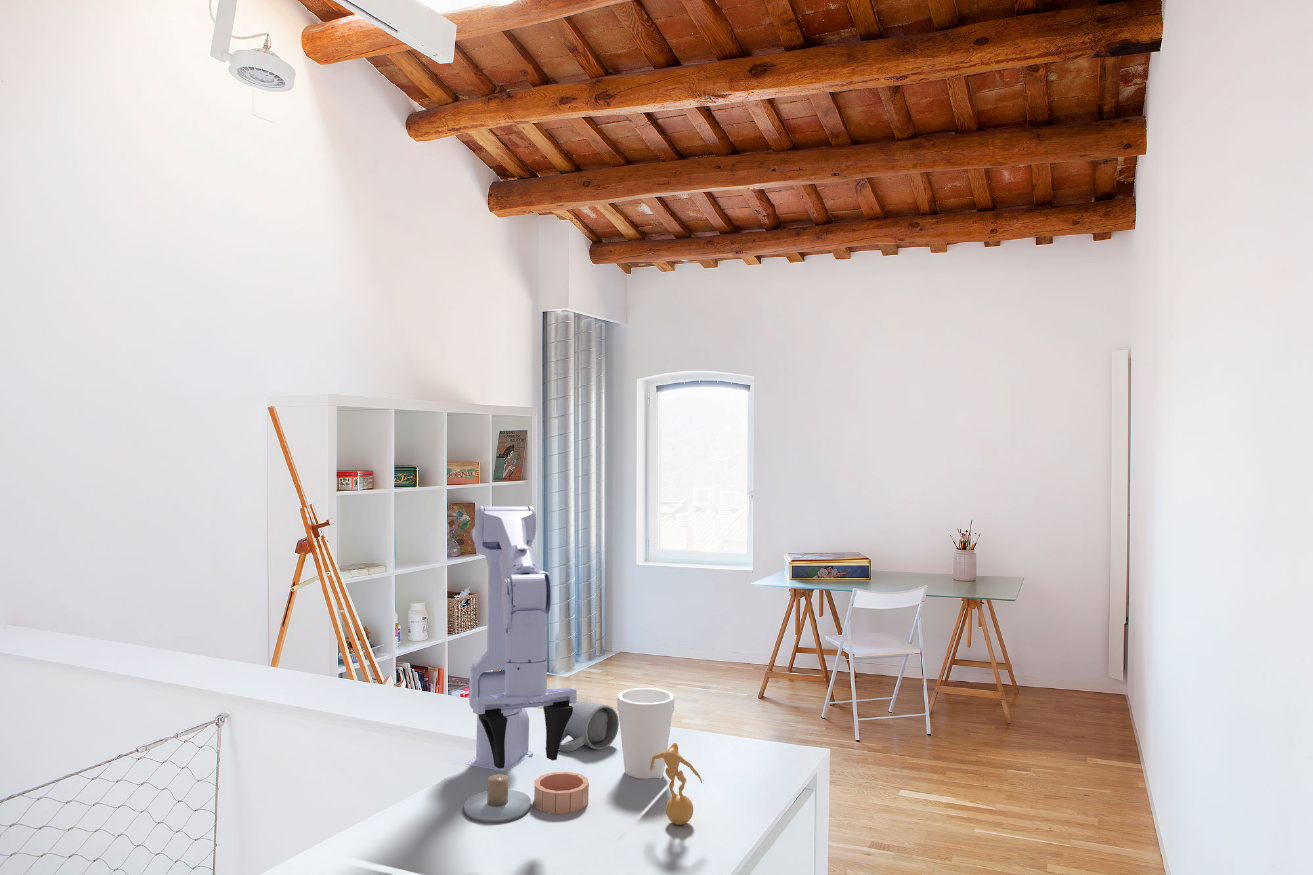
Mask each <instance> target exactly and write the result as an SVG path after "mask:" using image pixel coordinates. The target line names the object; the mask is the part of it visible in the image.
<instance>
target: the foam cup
mask: <svg viewBox="0 0 1313 875" xmlns="http://www.w3.org/2000/svg"><path fill="white" fill-rule="evenodd" d="M616 702H617V703H616V712H618V720H619V728H620V737H621V738H620V739H621V740H620V741H621V745H622V747H621V749H622V756H623V757H622V758H623V766H624V773H625V774H626V775H627V776H629V777H632V778H636V779H642V780H643V779H644V780H645V779H647V780H649V779H656V778H657V779H663V777H664V775H665V774H664V773H665V770H666V763H665V761H664V758H659V759H655V761H654V765H653V766H655V767H653V768H654V770H653V768H652V770H651V771H650V765H651V761H652V757H653V756H654V755H657V754H660V753H662V752H665V751H667V750H668V749H669V748H668V747H669V741H670V740H669V738H670V734H671V733H670V732H671V725H672V718H673V713H674V711H675V695H674V693H672V692H670V691H668V690H664V689H661V688H654V687H653V688H652V687H645V688H644V687H638V688H630V689H629V688H628V689H625V690H623V691H620V692H618V694H617V698H616Z"/></svg>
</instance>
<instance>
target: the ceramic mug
mask: <svg viewBox="0 0 1313 875" xmlns="http://www.w3.org/2000/svg"><path fill="white" fill-rule="evenodd" d="M570 706H572V707H573V713H572V715H571V717H570V719H569V721H568V723H567V725H566V727H565V730H564V733H563V735H562V739H561V742H560V746H559V750H558V751H561V752H563V753H567V752H572V751H575V750H578V749H579V748H581V747H583V746H584V745H585V746H587V747H589V748H590V749H593V750H597V751H599V750H603V749H606V748H608V747H609V746H611V745H612V743H613V742H614V740H615V739H616V737H617V735H618V732H619V728H620V721H619V714H617V710H616V709H614V707H613V706H611V705H608V704H602V703H599V702H595V701H591V700H578V701H577V703H573V704H570ZM568 736H569V737H570V738H571V739H573V740H572V741H570V742H568V743H562V742H563V741H564V740H565V739H566V738H567V737H568Z"/></svg>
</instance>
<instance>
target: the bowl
mask: <svg viewBox="0 0 1313 875" xmlns="http://www.w3.org/2000/svg"><path fill="white" fill-rule="evenodd" d="M589 788H590V784H589V778H588V777H586V776H584V775H583V774H580V773H578V772H572V771H556V772H555V771H554V772H549V773H547V774H542V775H540V776H539V777H538V778H536V779H535V780H534V786H533V789H534V793H533V796H534V797H533V801H534V802H533V803H534V804H533V805H534V807H535V808H536V809H538V810H539V811H542V812H543V813H547V814H548V813H549V814H557V815H559V814H571V813H574V812H577V811H578V812H579V811H580V810H581V811H582V810H583V809H584V808H585V807H586V806H587V805H588V804H589V795H590V794H589Z"/></svg>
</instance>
